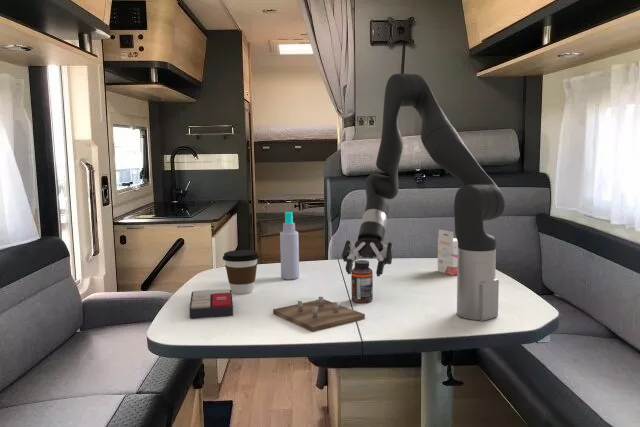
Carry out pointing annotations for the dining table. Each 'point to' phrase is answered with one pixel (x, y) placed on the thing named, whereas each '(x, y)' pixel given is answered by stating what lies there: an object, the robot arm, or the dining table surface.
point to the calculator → (211, 303)
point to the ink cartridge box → (447, 253)
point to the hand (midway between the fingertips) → (363, 273)
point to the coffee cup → (241, 270)
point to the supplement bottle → (362, 282)
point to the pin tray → (318, 314)
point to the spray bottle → (289, 249)
